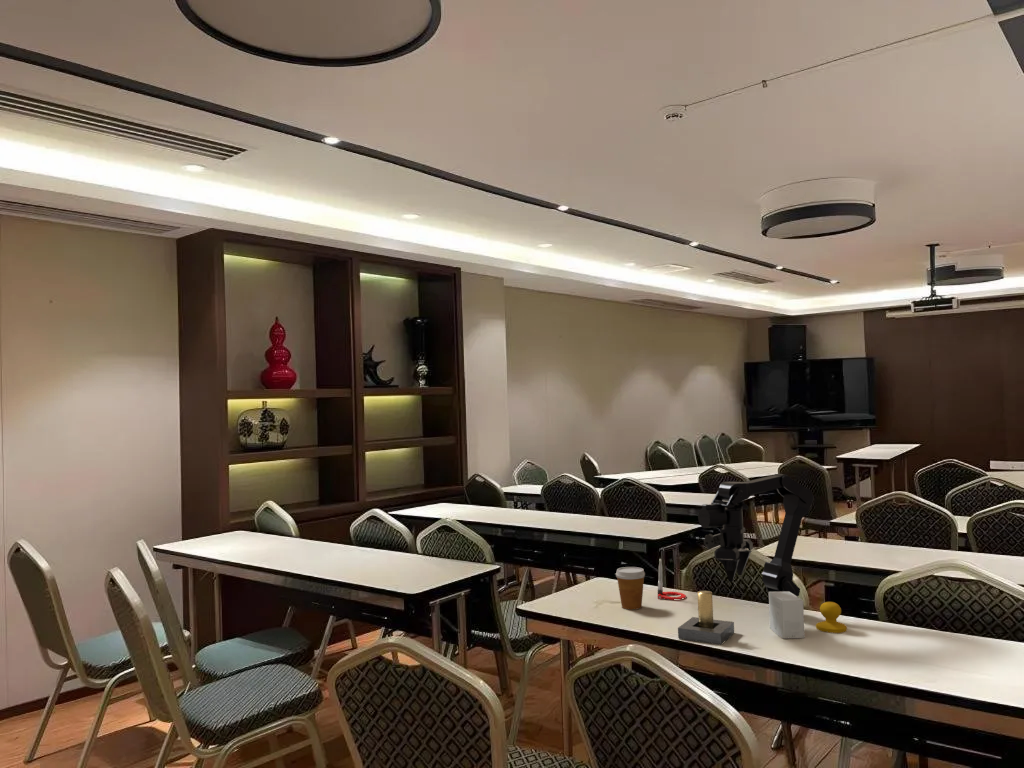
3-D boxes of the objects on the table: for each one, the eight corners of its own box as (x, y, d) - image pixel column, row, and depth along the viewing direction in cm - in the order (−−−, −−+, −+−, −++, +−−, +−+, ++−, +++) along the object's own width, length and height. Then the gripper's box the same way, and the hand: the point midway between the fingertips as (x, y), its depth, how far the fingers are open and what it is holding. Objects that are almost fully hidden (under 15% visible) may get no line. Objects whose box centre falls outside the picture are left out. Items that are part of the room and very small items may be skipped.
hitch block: (734, 632, 214) (733, 621, 214) (721, 644, 203) (720, 633, 204) (693, 627, 220) (692, 616, 220) (678, 638, 210) (677, 627, 210)
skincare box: (806, 638, 206) (804, 599, 207) (782, 639, 206) (780, 600, 207) (791, 627, 217) (789, 590, 217) (769, 628, 217) (767, 591, 217)
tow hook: (686, 595, 258) (658, 594, 260) (686, 557, 258) (658, 556, 260) (685, 602, 250) (657, 600, 252) (685, 563, 250) (657, 561, 252)
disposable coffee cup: (611, 606, 247) (609, 569, 247) (635, 601, 251) (634, 565, 251) (627, 612, 238) (625, 574, 239) (652, 608, 242) (651, 570, 243)
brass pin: (713, 633, 213) (711, 590, 214) (714, 637, 210) (712, 594, 210) (698, 633, 214) (696, 590, 214) (700, 637, 210) (698, 594, 211)
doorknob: (819, 623, 219) (849, 627, 215) (813, 631, 213) (844, 634, 208) (818, 597, 220) (847, 600, 215) (812, 604, 213) (842, 607, 208)
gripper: (716, 519, 236) (718, 569, 236) (695, 528, 220) (698, 582, 220) (752, 521, 230) (754, 572, 230) (734, 530, 214) (736, 586, 214)
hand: (735, 578), depth 223 cm, fingers open, 9 cm apart
